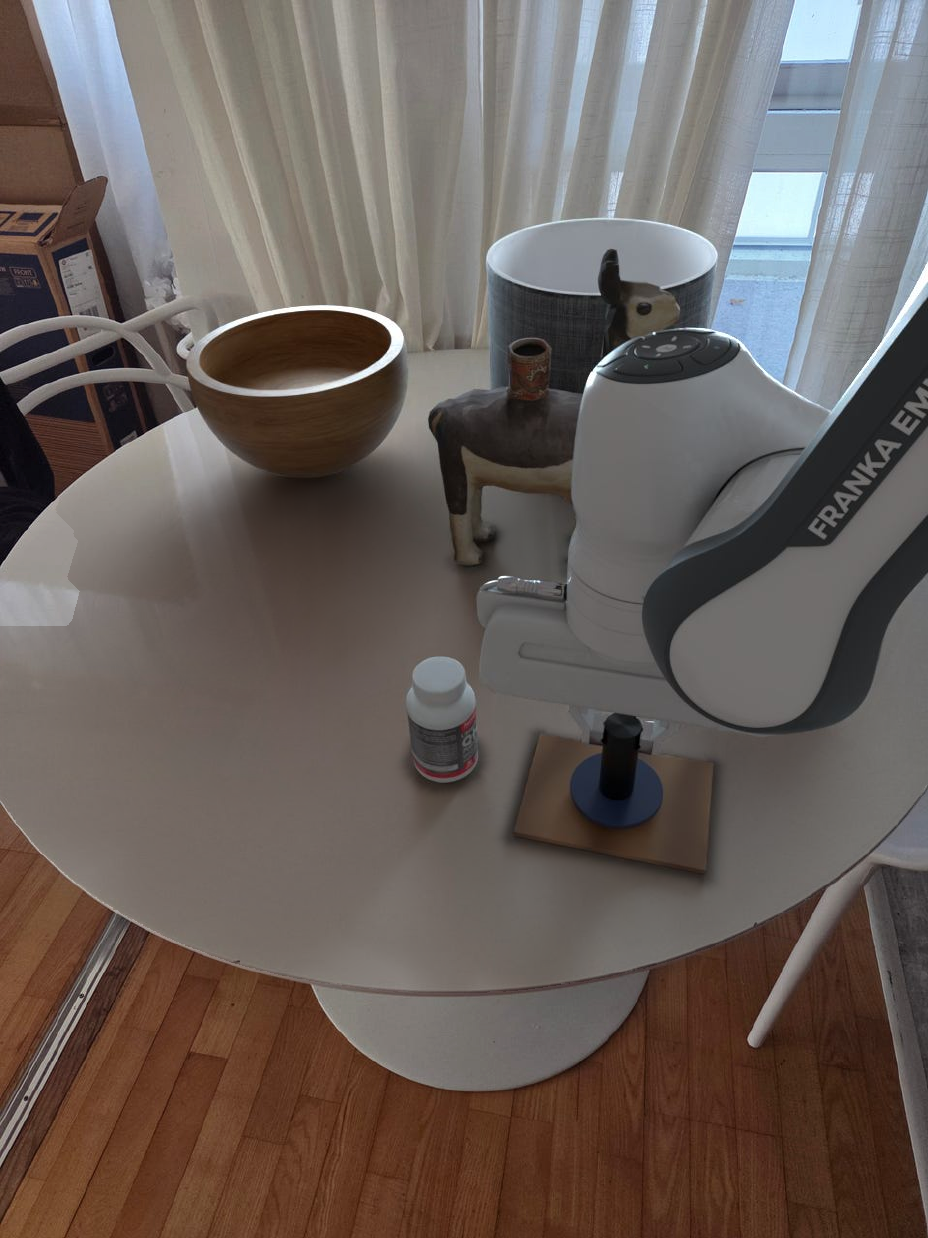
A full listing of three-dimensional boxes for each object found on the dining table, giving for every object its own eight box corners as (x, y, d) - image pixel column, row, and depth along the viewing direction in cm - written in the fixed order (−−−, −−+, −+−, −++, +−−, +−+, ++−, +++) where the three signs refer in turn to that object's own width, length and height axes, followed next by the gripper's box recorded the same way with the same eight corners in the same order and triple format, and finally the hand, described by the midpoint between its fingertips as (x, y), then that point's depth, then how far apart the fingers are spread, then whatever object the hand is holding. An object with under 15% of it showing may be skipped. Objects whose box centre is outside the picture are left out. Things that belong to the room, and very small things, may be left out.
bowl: (450, 481, 102) (442, 361, 92) (246, 543, 95) (213, 419, 85) (373, 398, 120) (359, 290, 110) (195, 445, 112) (163, 333, 102)
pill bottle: (480, 783, 68) (475, 697, 62) (413, 787, 68) (401, 702, 62) (477, 731, 72) (472, 646, 66) (413, 736, 72) (402, 651, 66)
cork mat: (712, 767, 68) (713, 762, 68) (705, 874, 61) (706, 870, 61) (539, 737, 71) (540, 733, 71) (513, 836, 64) (513, 832, 64)
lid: (666, 764, 67) (677, 697, 62) (657, 837, 62) (669, 771, 57) (577, 748, 69) (582, 682, 64) (562, 819, 64) (565, 753, 59)
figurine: (653, 584, 86) (690, 280, 66) (428, 572, 89) (401, 279, 69) (651, 525, 94) (684, 238, 74) (444, 516, 97) (423, 238, 77)
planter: (526, 376, 122) (527, 211, 108) (707, 399, 115) (733, 225, 100) (462, 465, 105) (451, 283, 90) (670, 499, 97) (695, 305, 83)
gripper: (462, 604, 53) (471, 750, 62) (812, 653, 48) (767, 804, 57) (487, 545, 57) (492, 689, 66) (809, 584, 53) (767, 734, 62)
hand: (621, 743), depth 62 cm, fingers closed on lid, 2 cm apart
